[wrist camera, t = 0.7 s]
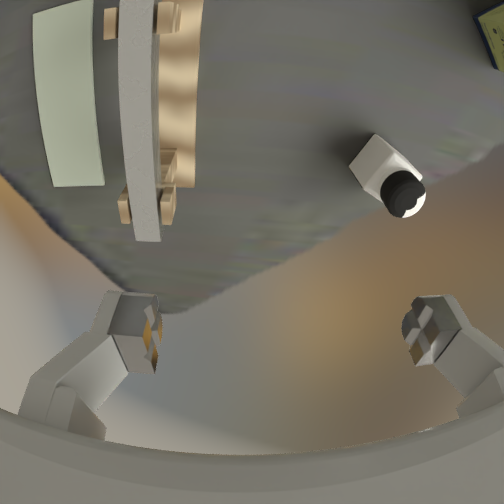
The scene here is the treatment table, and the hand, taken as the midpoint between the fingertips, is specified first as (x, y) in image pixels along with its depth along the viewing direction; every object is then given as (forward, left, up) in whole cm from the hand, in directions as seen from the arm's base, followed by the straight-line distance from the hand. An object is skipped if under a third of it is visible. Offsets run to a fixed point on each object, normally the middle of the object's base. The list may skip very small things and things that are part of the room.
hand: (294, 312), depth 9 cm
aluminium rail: (+2, -11, -24) cm, 26 cm away
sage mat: (+2, -27, -36) cm, 45 cm away
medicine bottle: (+10, +21, -37) cm, 43 cm away
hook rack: (+2, -11, -36) cm, 38 cm away
